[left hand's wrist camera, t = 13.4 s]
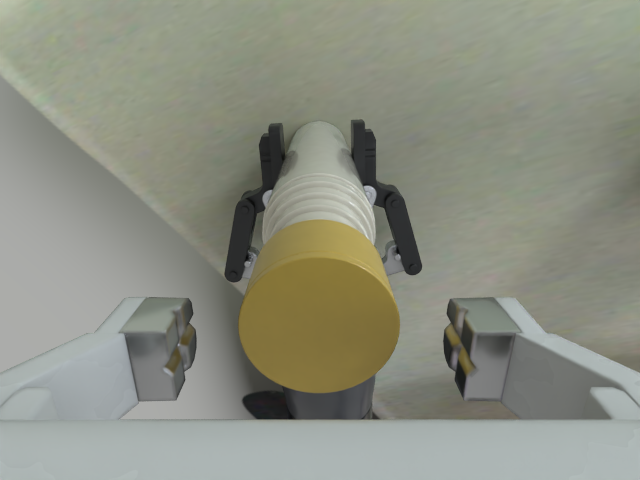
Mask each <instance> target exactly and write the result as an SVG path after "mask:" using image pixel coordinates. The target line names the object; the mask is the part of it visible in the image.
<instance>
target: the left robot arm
mask: <svg viewBox="0 0 640 480" xmlns="http://www.w3.org/2000/svg"><path fill="white" fill-rule="evenodd" d="M192 316H193V309H192V303H191V301H190V300H189V298H156V297H149V298H148V297H129V298H125V299H124V300H123V301H122V302H121V303H120V304H119V305H118V307H117V308H116V309H115V310H114V311H113V312H112V313H111V314H110V316H109V317H108V318H107V319H106V320H105V321H104V322H103V323H102V325H101V326H100V327H99V328H98V329H97V330H96V331H95V332H94V333H87V334H84V335H82V336H80V337H78V338H76V339H73V340H71V341H69V342H67V343H65V344H63V345H60V346H58V347H56V348H54V349H52V350H49V351H47V352H45V353H43V354H41V355H38V356H36V357H34V358H32V359H30V360H28V361H25V362H23V363H21V364H19V365H17V366H14V367H12V368H10V369H8V370H6V371H3V372H1V373H0V480H640V373H639V372H636V371H634V370H632V369H630V368H628V367H626V366H623V365H621V364H619V363H617V362H615V361H612V360H610V359H608V358H606V357H604V356H601V355H599V354H597V353H595V352H593V351H591V350H588V349H586V348H584V347H582V346H580V345H577V344H575V343H573V342H571V341H569V340H566V339H564V338H562V337H560V336H558V335H556V334H553V333H546V332H545V331H544V330H543V329H542V328H541V327H540V326H539V325H538V323H537V322H536V321H535V320H534V319H533V318H532V317H531V315H530V314H529V313H528V312H527V311H526V310H525V309H524V308H523V306H522V305H521V304H520V303H519V302H518V301H517V300H516V299H515V298H513V297H496V298H494V297H489V298H453V299H450V301H449V304H448V308H447V316H448V318H449V319H450V321H451V323H450V324H449V325H448V326H447V327H446V328H445V330H444V340H443V342H444V354H445V358H446V361H447V363H448V366H449V367H450V368H451V369H452V370H454V371H455V372H456V374H455V382H456V384H457V386H458V388H459V391H460V393H461V395H462V397H463V400H468V401H502V402H501V403H502V404H503V405H504V406H505V407H507V408H508V409H509V410H510V411H512V412H513V413H514V414H515V415H516V416H518V417H519V418H520V419H521V420H119V419H120V418H121V417H123V416H124V415H125V414H126V413H127V412H129V411H130V410H131V409H132V408H134V407H135V406H136V405H137V404H138V403H139V402H138V401H170V400H177V397H178V395H179V393H180V390H181V388H182V386H183V384H184V382H185V375H184V372H185V371H186V370H188V369H189V368H190V367H191V366H192V363H193V361H194V358H195V352H196V330H195V328H194V327H193V326H192V325H191V324H190V323H189V321H190V319H191V318H192Z"/></svg>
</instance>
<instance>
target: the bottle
mask: <svg viewBox="0 0 640 480" xmlns="http://www.w3.org/2000/svg"><path fill="white" fill-rule="evenodd" d="M313 219H325V220H333V221H337V222H341V223H343V224H346V225H349V226H351V227H353V228H354V229H356V230H358V231H359V232H361V233H362V234H363V235H364V236H366V237H367V238H368V239H369V240H370V241H371V243H372V244H373V245H374V244H375V236H376V231H375V217H374V213H373V210H372V207H371V205H370V202H369V199H368V197H367V194H366V192H365V189H364V187H363V184H362V181H361V179H360V176H359V174H358V171H357V169H356V166H355V163H354V161H353V158H352V156H351V153H350V151H349V148H348V145H347V143H346V140H345V138H344V136H343V134H342V133H341V131H340V130H339V129H338V128H337V127H335V126H334V125H332V124H330V123H328V122H324V121H314V122H310V123H307V124H305V125H303V126H302V127H301V128H299V129H298V130H297V132H296V133H295V134H294V136H293V138H292V141H291V143H290V146H289V149H288V151H287V154H286V156H285V159H284V162H283V164H282V167H281V169H280V172H279V175H278V177H277V180H276V182H275V185H274V188H273V190H272V193H271V196H270V198H269V201H268V203H267V206H266V209H265V211H264V216H263V223H262V241H263V246H264V245H265V244H266V242H267V241H268V240H269V239H270V238H271V237H272V236H273V235H275V234H276V233H277V232H279V231H280V230H282V229H284V228H285V227H287V226H289V225H292V224H294V223H297V222H301V221H305V220H313Z"/></svg>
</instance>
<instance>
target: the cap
mask: <svg viewBox="0 0 640 480" xmlns="http://www.w3.org/2000/svg"><path fill="white" fill-rule="evenodd" d="M238 330H239V337H240V341H241V344H242V346H243V349H244V351H245V353H246V355H247V356H248V358H249V360H250V361H251V362H252V363H253V365H254V366H255V367H256V368H257V369H258V370H259V371H260V372H261V373H262V374H264V375H265V376H266V377H268V378H269V379H271V380H272V381H274V382H276V383H277V384H280V385H282V386H284V387H287V388H290V389H293V390H297V391H302V392H308V393H329V392H336V391H341V390H345V389H348V388H351V387H354V386H356V385H358V384H360V383H362V382H364V381H366V380H367V379H369V378H370V377H372V376H373V375H374V374H376V373H377V372H378V371H379V370H380V369H381V368H382V367H383V366H384V365H385V363H386V362H387V361H388V360H389V358H390V356H391V355H392V353H393V351H394V349H395V346H396V344H397V341H398V337H399V330H400V318H399V312H398V308H397V305H396V302H395V299H394V296H393V293H392V290H391V287H390V284H389V281H388V278H387V275H386V272H385V269H384V266H383V263H382V260H381V257H380V255H379V253H378V251H377V250H376V248H375V246H374V245H373V244H372V243H371V241H370V240H369V239H368V238H367V237H366V236H364V235H363V234H362V233H361V232H359V231H358V230H356V229H354V228H353V227H351V226H349V225H346V224H343V223H341V222H337V221H333V220H325V219H313V220H305V221H301V222H297V223H294V224H292V225H289V226H287V227H285V228H284V229H282V230H280V231H279V232H277V233H276V234H275V235H273V236H272V237H271V238H270V239H269V240H268V241H267V242H266V244H265V245H264V246H263V248H262V249H261V251H260V253H259V255H258V257H257V260H256V262H255V265H254V268H253V271H252V274H251V277H250V281H249V284H248V287H247V290H246V293H245V296H244V299H243V302H242V305H241V308H240V313H239V319H238Z"/></svg>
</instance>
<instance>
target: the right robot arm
mask: <svg viewBox="0 0 640 480" xmlns="http://www.w3.org/2000/svg"><path fill="white" fill-rule="evenodd" d="M259 150H260V159H261V169H262V179H263V186H262V187H260V188H258V189H256V190H254V191H246V192H245V193H244V194H243V196H242V197H241V200H240V201H239V202H238V204H237V206H236V209H235V215H234V221H233V227H232V233H231V239H230V244H229V250H228V256H227V262H226V268H225V277H226V279H227V280H228V281H230V282H238V281H240V280H241V278H242V277H244V278H248V279H250V277H251V274H252V271H253V268H254V265H255V262H256V260H257V257H258V255H259V251H258V250H257V249H256V248H254V247H251V242H252V236H253V231H254V226H255V221H256V216H257V213H259V212H262V211H264V210H265V209H266V206H267V203H268V201H269V198H270V196H271V193H272V190H273V188H274V185H275V182H276V180H277V177H278V175H279V172H280V169H281V167H282V164H283V162H284V159H285V149H284V136H283V125H282V123H275V124H270V125H269V133H266V134H263V136H262V137H261V140H260V144H259ZM351 156H352V158H353V161H354V163H355V166H356V169H357V171H358V174H359V176H360V179H361V181H362V184H363V187H364V189H365V192H366V194H367V197H368V199H369V202H370V205H371V207H372V208H373V205H377V206H380V207H383V208H384V209H385V212H386V215H387V219H388V222H389V226H390V229H391V232H392V236H393V239H394V240H393V241H390V242H388V243H387V245H386V247H385V251H386V253H385V256H384V257H383V258H382V259H381V260H382V263H383V266H384V269H385V272H386V275H391V274H394V273H397V272H401V271H404V270H405V272H406V273H407V274H409V275H416V274H418V273H419V272H420V271H421V269H422V264H421V260H420V256H419V253H418V249H417V245H416V242H415V238H414V234H413V231H412V227H411V223H410V220H409V216H408V212H407V209H406V205H405V201H404V199H403V197H402V196H401V194H400V193H399V191H398V190H397V188H396V187H395V186H393V185H385V184H382V183H379V182H378V181H376V139H375V137H374V134H373V132H372V131H371V129H365V123H364V121H363V120H351ZM374 384H375V374H374V375H373V376H372V377H370V378H369V379H367V380H366V381H364V382H362V383H360V384H358V385H356V386H354V387H351V388H348V389H345V390H341V391H336V392H329V393H308V392H302V391H297V390H293V389H290V388H287V387H284V386H282V387H283V391H284V394H285V398H286V403H287V413H288V420H372V395H373V389H374Z"/></svg>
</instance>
